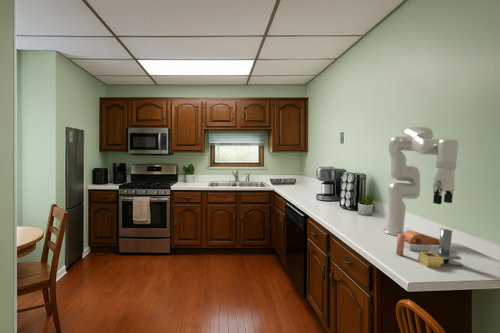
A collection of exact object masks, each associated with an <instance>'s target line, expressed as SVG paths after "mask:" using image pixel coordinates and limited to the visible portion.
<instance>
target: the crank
mask: <svg viewBox="0 0 500 333" xmlns="http://www.w3.org/2000/svg"><path fill="white" fill-rule="evenodd" d="M403 235H405V239H404V241H405V242H407V243H409V244H416V245H439V241H440V238H437V237H433V236H430V235H428V234H424V233H421V232H417V231H414V230H411V229H409V230H408V229H407V230H404V233H403Z"/></svg>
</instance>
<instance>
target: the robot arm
mask: <svg viewBox="0 0 500 333" xmlns="http://www.w3.org/2000/svg"><path fill="white" fill-rule="evenodd" d="M433 137H434V132H433V129H431V128H430V127H425V126H424V127H423V126H410V127H407V128H405V130H404V131H403V135H401V136H400V135H399V136H393V137H391V138H390V139H389V141H388V153H389V156H390V178H391V179H392V180H394V181H400V182H393V183H390V184H389V185H388V187H387V195H388V202H387V204H388V205H387V206H388V207H387V218H386V223H385V224H384V227H385V228H384V229H383V232H384V234H387V235H390V236H393V237H394V236H395V237H398V234H403V233H404V232H405V229H404V228H405V216H406V204H405V201H404V199H405V200H415V199H418V198H419V197H420V192H421V173H420V170H419V168H418V167H417V166H414V165H407V157H406V155H405V154H404V152H403V151H409V152H410V151H411V152H416V153H418V154H419V155H420V154H421V155H426V156H427V155H429V156H430V155H432V156H436V164H435V172H434V177H433V184H432V190H433V193H432V194H433V199H432V200H433V201H432V203H433V204H435V205H436V204H437V205H442V203H443V202H444V203H447V204H453V196H454V191H455V179H456V178H455V176H456V175H455V174H456V173H455V171H456V170H457V161H458V151H459V150H458V149H459V141H458V140H457V139H453V138H451V139H450V138H444V139H443V138H442V139H433ZM401 181H402V182H401ZM407 182H408V183H407ZM443 192H445V193H444V196H443ZM442 201H443V202H442Z"/></svg>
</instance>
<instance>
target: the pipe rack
mask: <svg viewBox="0 0 500 333" xmlns="http://www.w3.org/2000/svg"><path fill="white" fill-rule="evenodd" d="M397 239H398V237H396V240H397ZM396 244H397V241H396ZM404 249H406V250H408V251H413V252H414V251H417V252H428V249H435V250H439V245H416V244H409V243H407V242H405V241H404ZM450 252H451V253H453V252H454V245H452V244H451V248H450Z"/></svg>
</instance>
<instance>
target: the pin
mask: <svg viewBox="0 0 500 333" xmlns="http://www.w3.org/2000/svg"><path fill="white" fill-rule="evenodd" d="M397 238H398V239H397ZM397 238H396V242H397V243H396V250H395V251H396V252H395V255H397V256H398V257H399V256H400V257H403V256H404V251H405V250H404V249H405V248H404V239H405V235H403V234H398V236H397Z"/></svg>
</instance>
